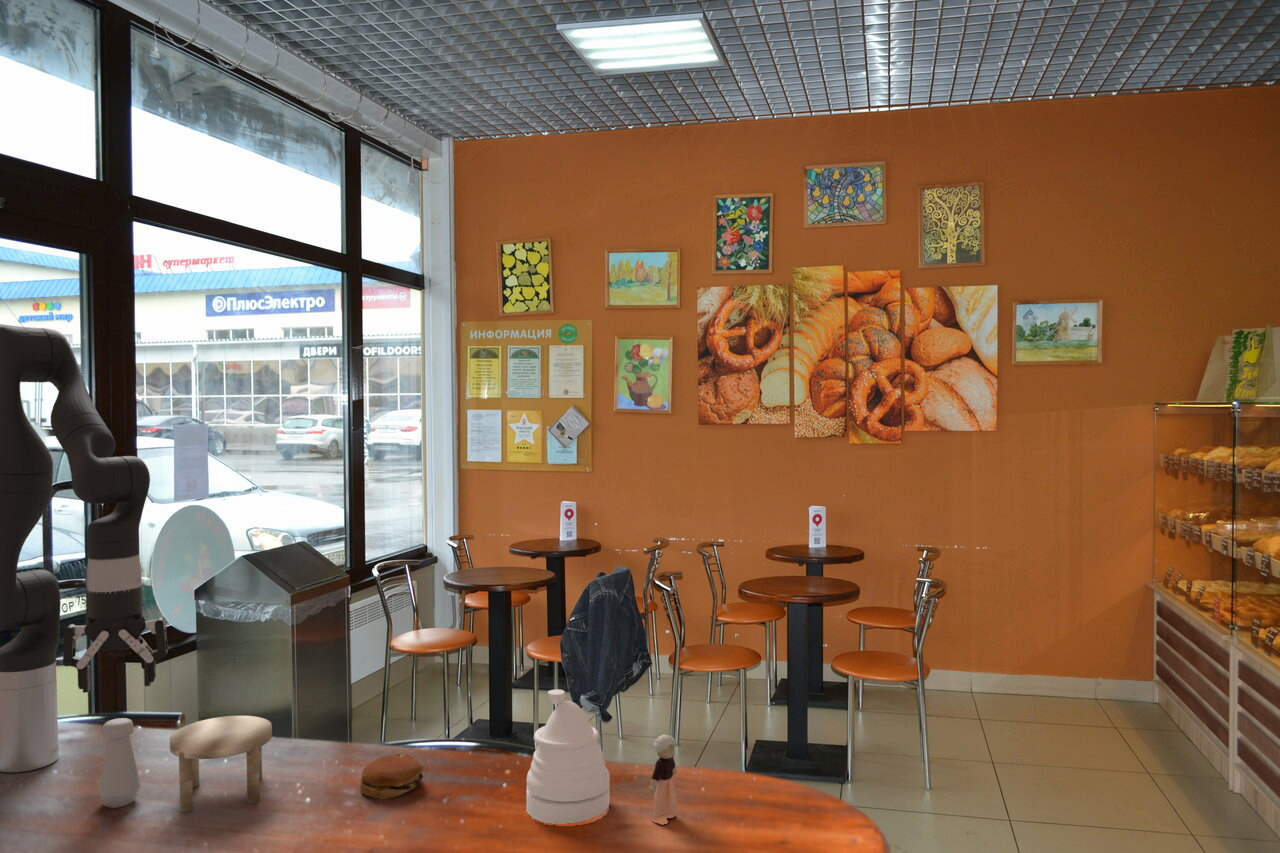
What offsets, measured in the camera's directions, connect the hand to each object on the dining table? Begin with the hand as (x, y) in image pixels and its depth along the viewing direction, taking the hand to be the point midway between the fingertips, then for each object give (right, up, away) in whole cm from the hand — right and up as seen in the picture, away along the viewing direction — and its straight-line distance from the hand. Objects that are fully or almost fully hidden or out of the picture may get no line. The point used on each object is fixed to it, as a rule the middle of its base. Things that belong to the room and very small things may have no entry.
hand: (117, 688), depth 151 cm
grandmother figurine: (+85, -19, -5) cm, 88 cm away
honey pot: (+70, -18, -1) cm, 73 cm away
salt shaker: (0, -18, +1) cm, 18 cm away
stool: (+15, -18, +4) cm, 23 cm away
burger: (+41, -18, +6) cm, 46 cm away
